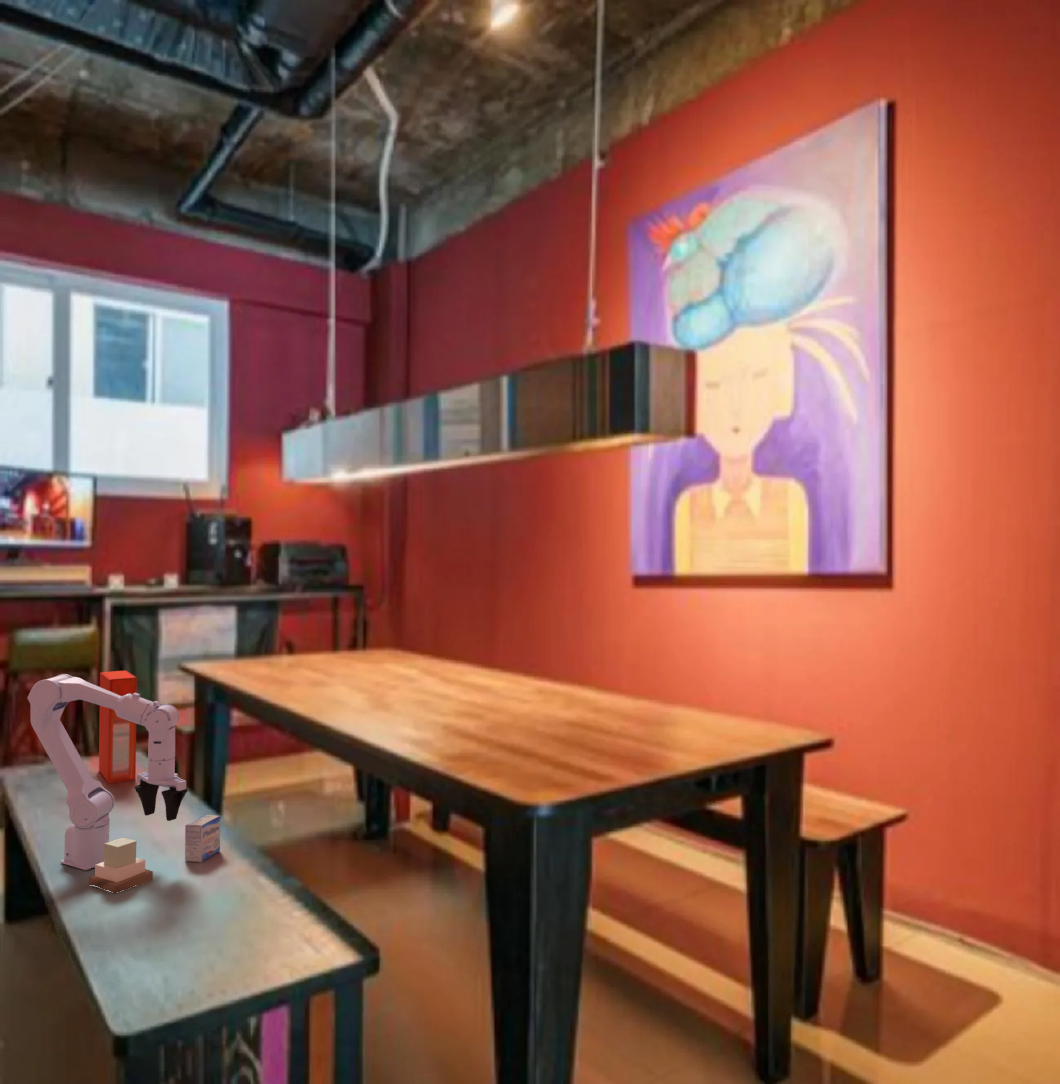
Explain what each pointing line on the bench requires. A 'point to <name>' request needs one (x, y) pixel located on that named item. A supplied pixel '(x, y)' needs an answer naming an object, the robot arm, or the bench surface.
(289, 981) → the bench surface
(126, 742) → the file binder
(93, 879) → the walnut base slab
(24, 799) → the bench surface
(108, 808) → the robot arm
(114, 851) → the beige cube
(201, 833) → the medicine box
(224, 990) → the bench surface
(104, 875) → the cream top slab
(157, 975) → the bench surface
